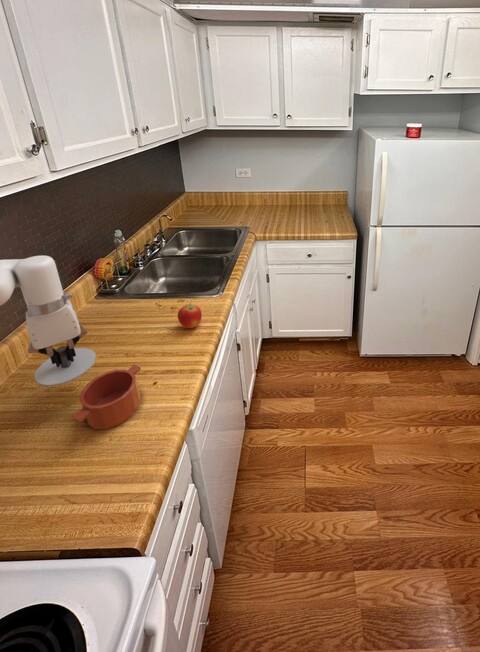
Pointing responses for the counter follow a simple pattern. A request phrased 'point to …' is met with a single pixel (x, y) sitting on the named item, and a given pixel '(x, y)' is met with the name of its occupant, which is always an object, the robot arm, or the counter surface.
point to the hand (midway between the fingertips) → (65, 361)
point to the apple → (189, 316)
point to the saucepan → (110, 399)
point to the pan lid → (65, 367)
